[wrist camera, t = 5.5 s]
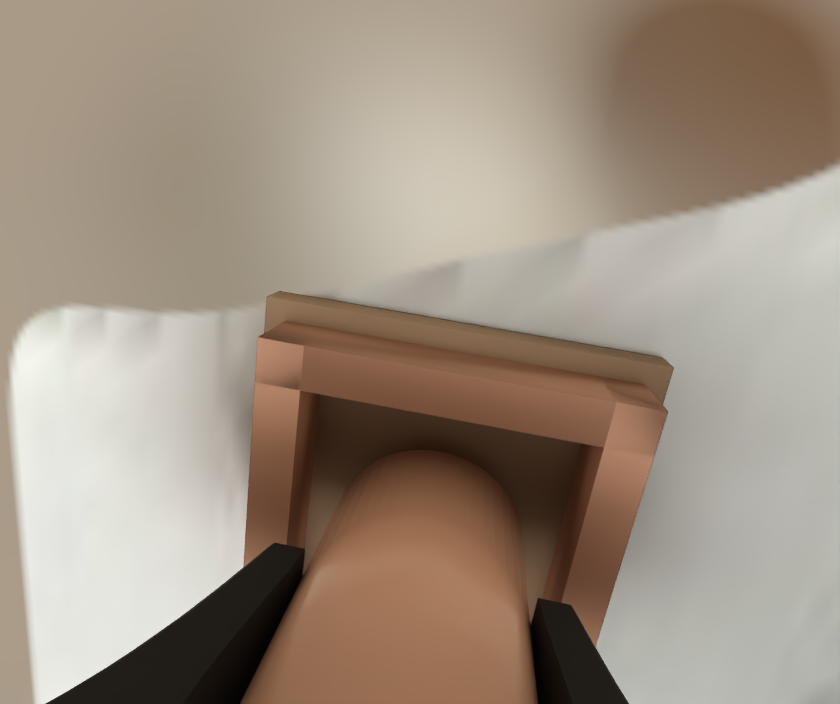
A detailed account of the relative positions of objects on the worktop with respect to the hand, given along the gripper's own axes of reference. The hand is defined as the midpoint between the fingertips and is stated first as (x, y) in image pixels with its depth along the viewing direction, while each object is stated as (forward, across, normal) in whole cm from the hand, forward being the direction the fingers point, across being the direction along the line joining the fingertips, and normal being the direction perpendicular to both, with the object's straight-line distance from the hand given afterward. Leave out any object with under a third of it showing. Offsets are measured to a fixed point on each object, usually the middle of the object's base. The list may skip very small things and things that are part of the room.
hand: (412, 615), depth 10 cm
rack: (+4, 0, +4) cm, 6 cm away
